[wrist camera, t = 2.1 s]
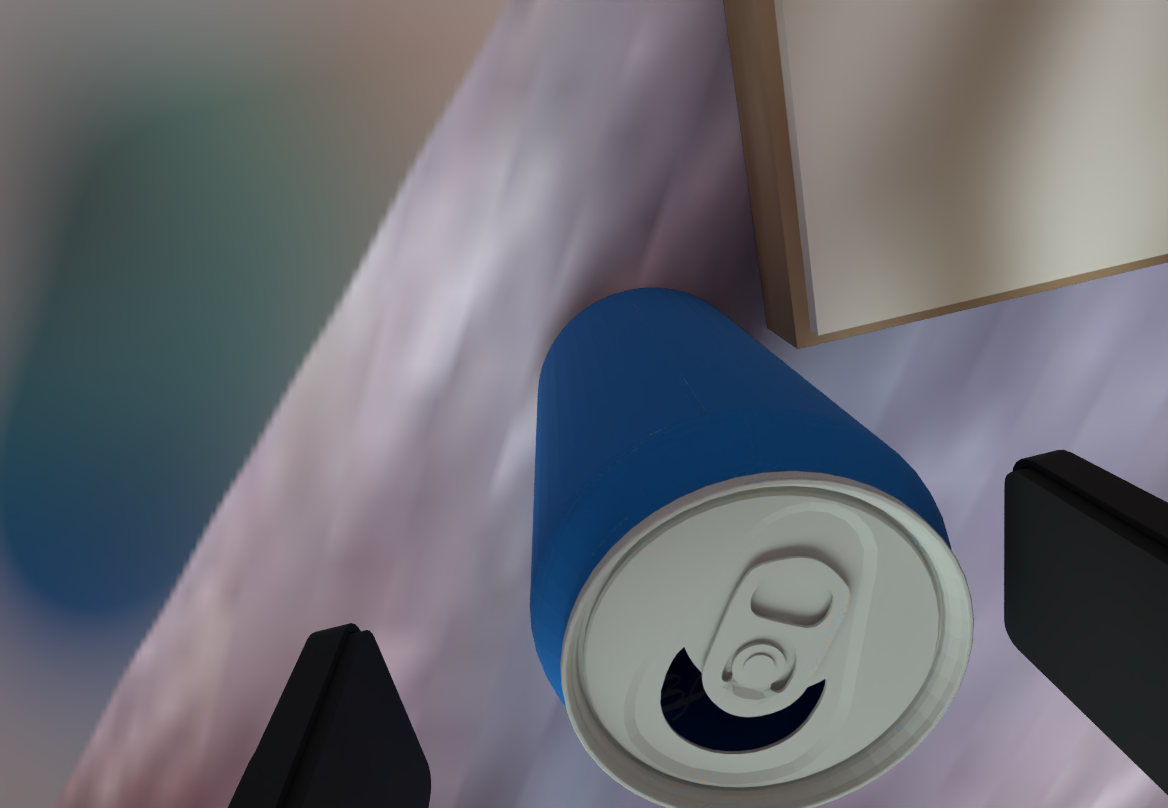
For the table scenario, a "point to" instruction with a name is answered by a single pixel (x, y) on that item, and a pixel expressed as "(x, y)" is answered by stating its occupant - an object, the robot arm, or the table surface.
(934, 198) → the pedestal
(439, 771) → the table surface
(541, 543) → the beverage can
